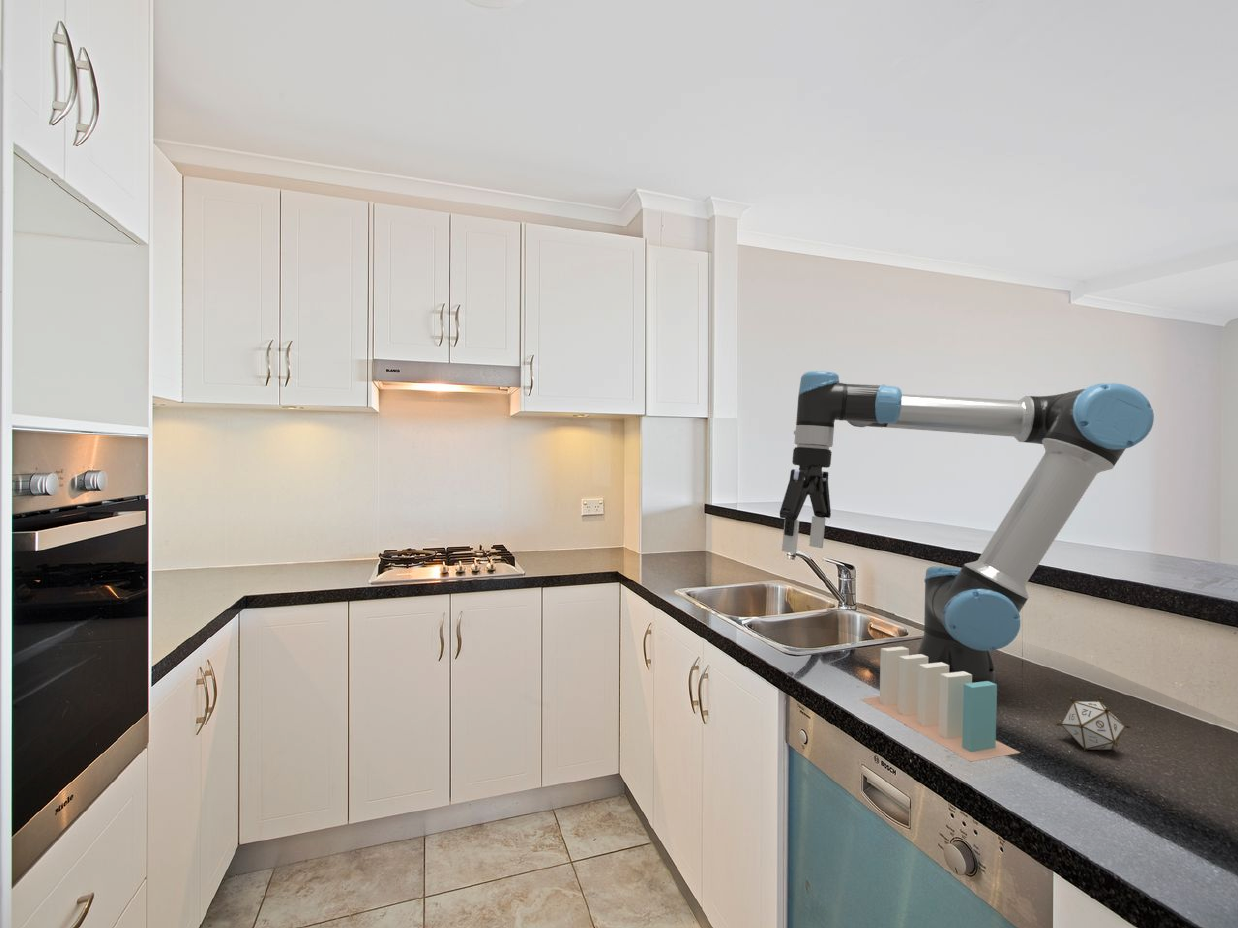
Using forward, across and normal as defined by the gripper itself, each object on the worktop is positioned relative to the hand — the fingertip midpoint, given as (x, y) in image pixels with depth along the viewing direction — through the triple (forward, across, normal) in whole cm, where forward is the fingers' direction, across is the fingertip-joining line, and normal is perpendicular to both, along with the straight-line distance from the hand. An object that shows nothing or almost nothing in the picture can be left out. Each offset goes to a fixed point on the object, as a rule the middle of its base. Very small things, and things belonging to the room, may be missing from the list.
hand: (803, 549), depth 124 cm
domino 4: (+24, +8, +32) cm, 41 cm away
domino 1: (+25, 0, +20) cm, 32 cm away
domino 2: (+25, +3, +24) cm, 35 cm away
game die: (+24, -3, +49) cm, 55 cm away
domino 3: (+25, +5, +28) cm, 38 cm away
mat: (+25, +5, +28) cm, 38 cm away
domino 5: (+24, +10, +36) cm, 44 cm away
